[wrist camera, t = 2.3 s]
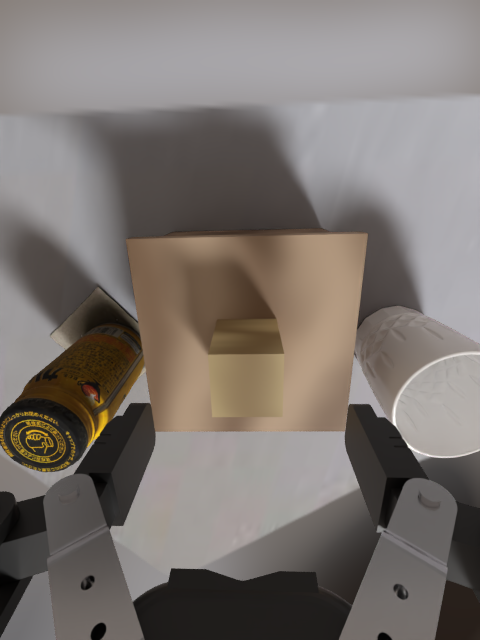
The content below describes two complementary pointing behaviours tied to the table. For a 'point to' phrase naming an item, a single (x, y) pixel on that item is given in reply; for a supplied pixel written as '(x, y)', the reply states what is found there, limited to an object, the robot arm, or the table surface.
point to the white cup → (423, 380)
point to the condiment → (75, 387)
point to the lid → (248, 328)
